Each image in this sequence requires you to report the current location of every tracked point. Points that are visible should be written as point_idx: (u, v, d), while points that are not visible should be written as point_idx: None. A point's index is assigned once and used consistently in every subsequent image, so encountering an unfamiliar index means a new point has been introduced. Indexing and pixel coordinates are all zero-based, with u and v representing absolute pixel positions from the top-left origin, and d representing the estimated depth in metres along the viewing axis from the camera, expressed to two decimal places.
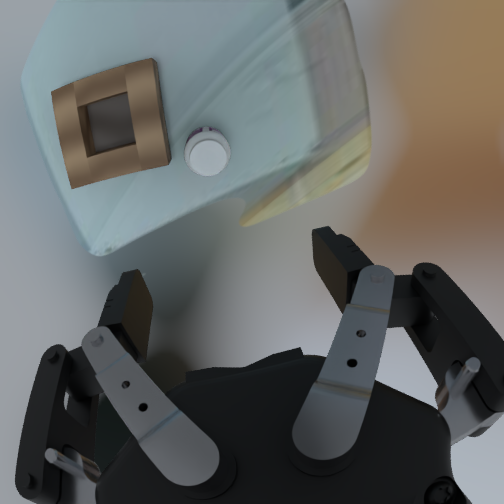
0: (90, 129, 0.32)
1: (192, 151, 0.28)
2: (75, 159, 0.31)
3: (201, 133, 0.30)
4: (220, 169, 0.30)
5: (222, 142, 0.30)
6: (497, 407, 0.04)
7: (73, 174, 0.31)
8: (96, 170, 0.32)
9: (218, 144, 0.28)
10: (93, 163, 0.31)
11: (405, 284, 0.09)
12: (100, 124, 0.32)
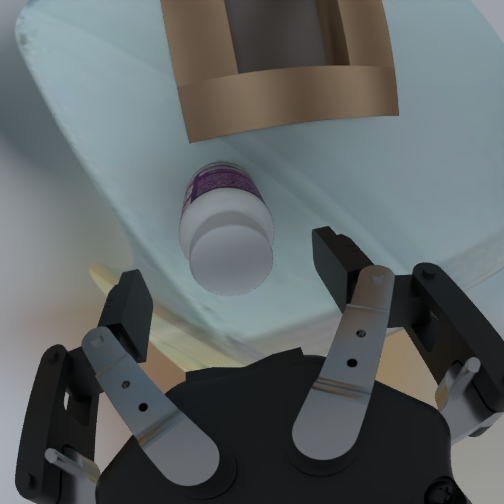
0: None
1: (248, 230, 0.13)
2: None
3: (272, 222, 0.16)
4: (208, 288, 0.14)
5: None
6: (497, 407, 0.04)
7: None
8: None
9: (263, 278, 0.14)
10: None
11: (405, 284, 0.09)
12: (272, 5, 0.14)
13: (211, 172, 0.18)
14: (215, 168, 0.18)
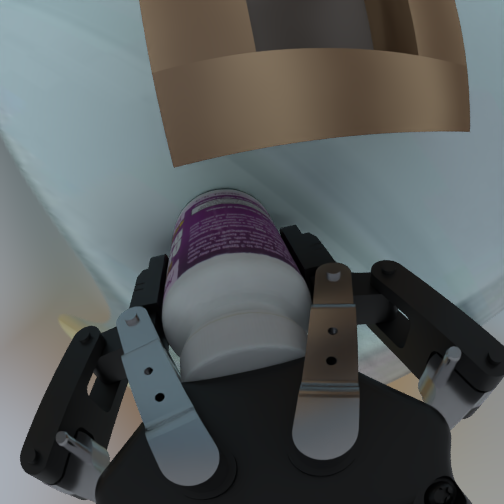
0: None
1: (285, 350, 0.07)
2: None
3: None
4: None
5: None
6: (486, 387, 0.05)
7: None
8: None
9: None
10: None
11: (364, 282, 0.09)
12: None
13: (210, 210, 0.12)
14: (216, 202, 0.12)
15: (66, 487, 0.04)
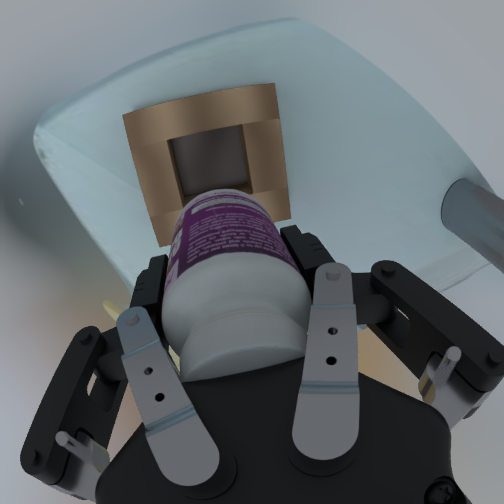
0: None
1: (284, 350, 0.07)
2: (165, 121, 0.23)
3: (310, 303, 0.10)
4: None
5: None
6: (486, 387, 0.05)
7: (143, 117, 0.22)
8: (148, 154, 0.24)
9: None
10: (158, 150, 0.24)
11: (364, 282, 0.09)
12: (208, 141, 0.28)
13: (210, 210, 0.12)
14: (216, 201, 0.12)
15: (66, 487, 0.04)
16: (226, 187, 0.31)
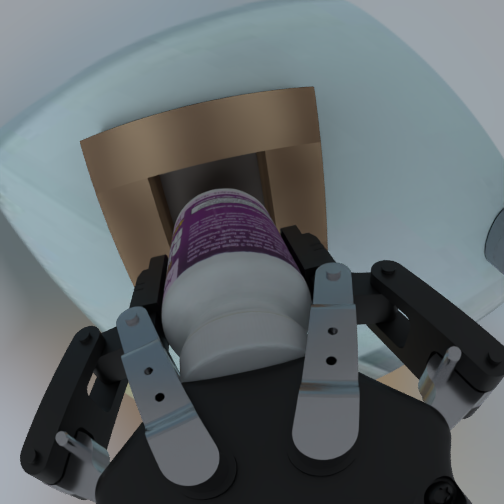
0: None
1: (285, 349, 0.07)
2: (144, 148, 0.15)
3: (311, 303, 0.10)
4: None
5: None
6: (486, 387, 0.05)
7: (110, 143, 0.14)
8: (121, 200, 0.16)
9: None
10: (136, 193, 0.16)
11: (364, 281, 0.09)
12: (212, 171, 0.20)
13: (210, 209, 0.12)
14: (216, 201, 0.12)
15: (66, 487, 0.04)
16: None
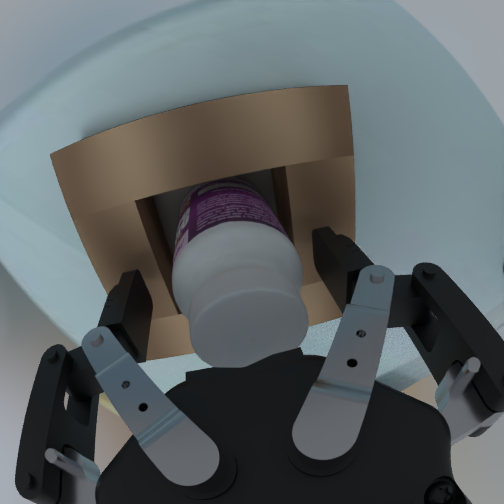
0: None
1: (279, 295, 0.08)
2: (129, 162, 0.11)
3: (301, 269, 0.11)
4: (216, 365, 0.10)
5: None
6: (497, 407, 0.04)
7: (86, 156, 0.11)
8: (104, 228, 0.13)
9: None
10: (120, 220, 0.13)
11: (405, 284, 0.09)
12: None
13: (215, 191, 0.13)
14: (219, 185, 0.14)
15: None
16: None
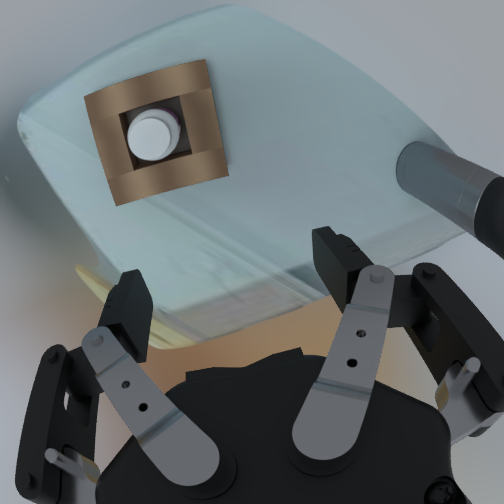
0: (152, 103, 0.29)
1: (156, 120, 0.23)
2: (117, 98, 0.25)
3: (176, 126, 0.25)
4: (137, 154, 0.24)
5: (166, 150, 0.26)
6: (497, 407, 0.04)
7: (100, 97, 0.25)
8: (104, 127, 0.27)
9: (165, 148, 0.24)
10: (111, 122, 0.27)
11: (405, 284, 0.09)
12: None
13: None
14: None
15: None
16: (174, 153, 0.33)
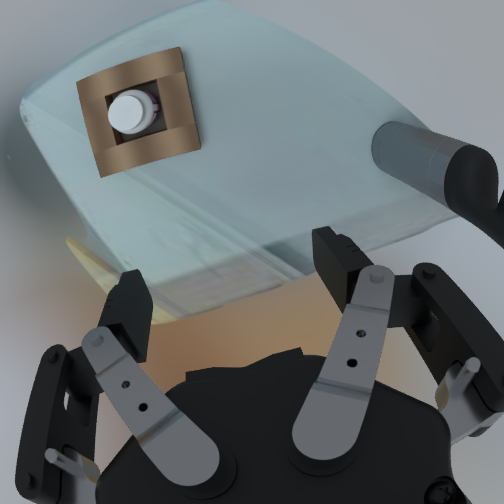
0: (135, 87, 0.32)
1: (131, 97, 0.25)
2: (103, 83, 0.28)
3: (150, 103, 0.28)
4: (114, 126, 0.26)
5: (141, 124, 0.28)
6: (497, 407, 0.04)
7: (89, 82, 0.27)
8: (92, 107, 0.29)
9: (138, 120, 0.26)
10: (98, 103, 0.29)
11: (405, 284, 0.09)
12: None
13: None
14: None
15: None
16: (154, 131, 0.35)
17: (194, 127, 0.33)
